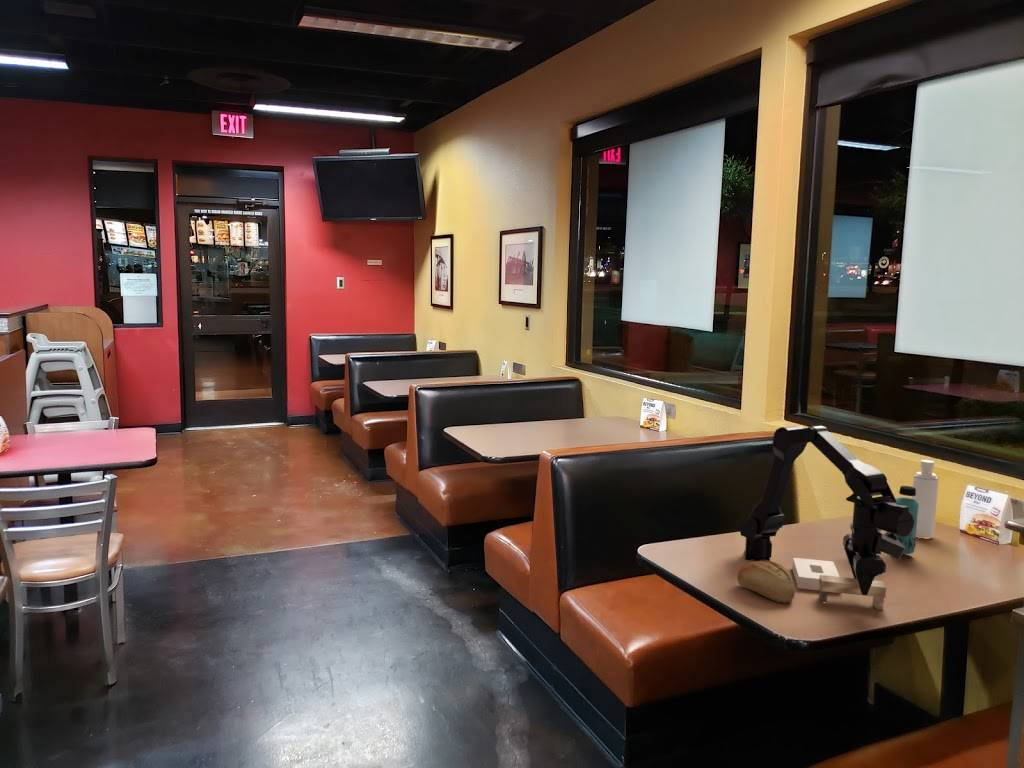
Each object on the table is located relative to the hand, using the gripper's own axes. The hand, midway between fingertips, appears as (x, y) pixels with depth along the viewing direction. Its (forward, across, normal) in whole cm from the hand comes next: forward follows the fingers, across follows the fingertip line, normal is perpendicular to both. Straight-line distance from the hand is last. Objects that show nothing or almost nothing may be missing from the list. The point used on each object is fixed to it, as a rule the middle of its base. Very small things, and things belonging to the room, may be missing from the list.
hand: (860, 587), depth 180 cm
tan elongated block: (+4, 0, +2) cm, 5 cm away
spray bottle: (+4, +61, -28) cm, 67 cm away
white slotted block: (+4, +13, +8) cm, 16 cm away
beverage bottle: (+4, +40, -18) cm, 44 cm away
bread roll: (+4, 0, +21) cm, 22 cm away
